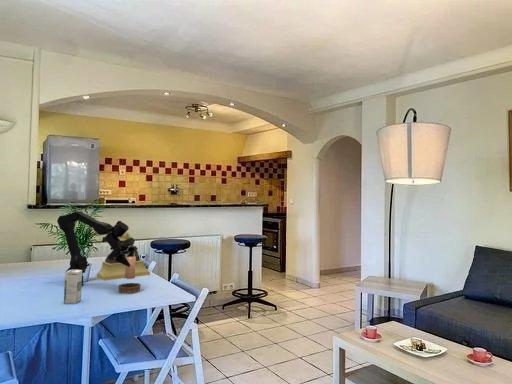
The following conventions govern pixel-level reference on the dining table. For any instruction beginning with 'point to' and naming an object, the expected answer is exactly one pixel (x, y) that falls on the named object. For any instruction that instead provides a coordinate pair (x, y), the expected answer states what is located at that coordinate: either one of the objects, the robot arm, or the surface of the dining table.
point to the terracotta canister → (130, 270)
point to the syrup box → (72, 286)
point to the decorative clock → (121, 266)
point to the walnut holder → (129, 288)
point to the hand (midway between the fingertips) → (132, 265)
